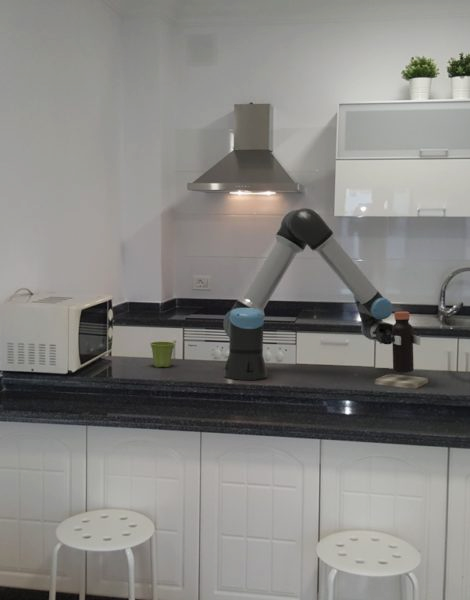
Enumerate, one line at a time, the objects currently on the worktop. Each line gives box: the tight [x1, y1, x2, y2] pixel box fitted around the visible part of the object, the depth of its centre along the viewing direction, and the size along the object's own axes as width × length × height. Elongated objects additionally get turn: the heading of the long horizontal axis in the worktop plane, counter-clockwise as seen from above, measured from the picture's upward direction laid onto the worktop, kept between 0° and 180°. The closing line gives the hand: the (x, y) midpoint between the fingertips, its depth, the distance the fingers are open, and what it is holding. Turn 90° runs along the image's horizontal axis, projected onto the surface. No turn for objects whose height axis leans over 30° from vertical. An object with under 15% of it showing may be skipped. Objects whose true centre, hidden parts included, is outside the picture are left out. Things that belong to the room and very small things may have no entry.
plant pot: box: [149, 341, 176, 368], centre depth 265 cm, size 9×9×9 cm
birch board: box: [374, 373, 429, 390], centre depth 240 cm, size 14×14×2 cm
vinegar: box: [391, 311, 415, 374], centre depth 239 cm, size 7×7×20 cm
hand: (409, 340), depth 234 cm, fingers closed on vinegar, 6 cm apart
